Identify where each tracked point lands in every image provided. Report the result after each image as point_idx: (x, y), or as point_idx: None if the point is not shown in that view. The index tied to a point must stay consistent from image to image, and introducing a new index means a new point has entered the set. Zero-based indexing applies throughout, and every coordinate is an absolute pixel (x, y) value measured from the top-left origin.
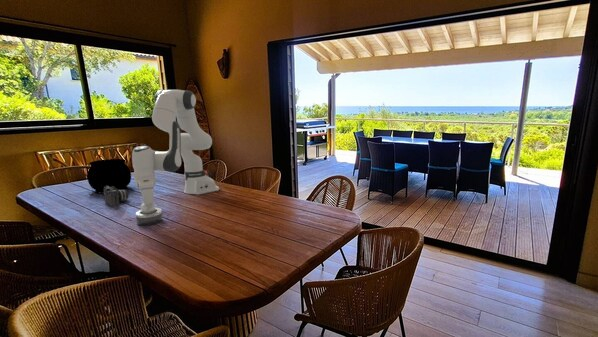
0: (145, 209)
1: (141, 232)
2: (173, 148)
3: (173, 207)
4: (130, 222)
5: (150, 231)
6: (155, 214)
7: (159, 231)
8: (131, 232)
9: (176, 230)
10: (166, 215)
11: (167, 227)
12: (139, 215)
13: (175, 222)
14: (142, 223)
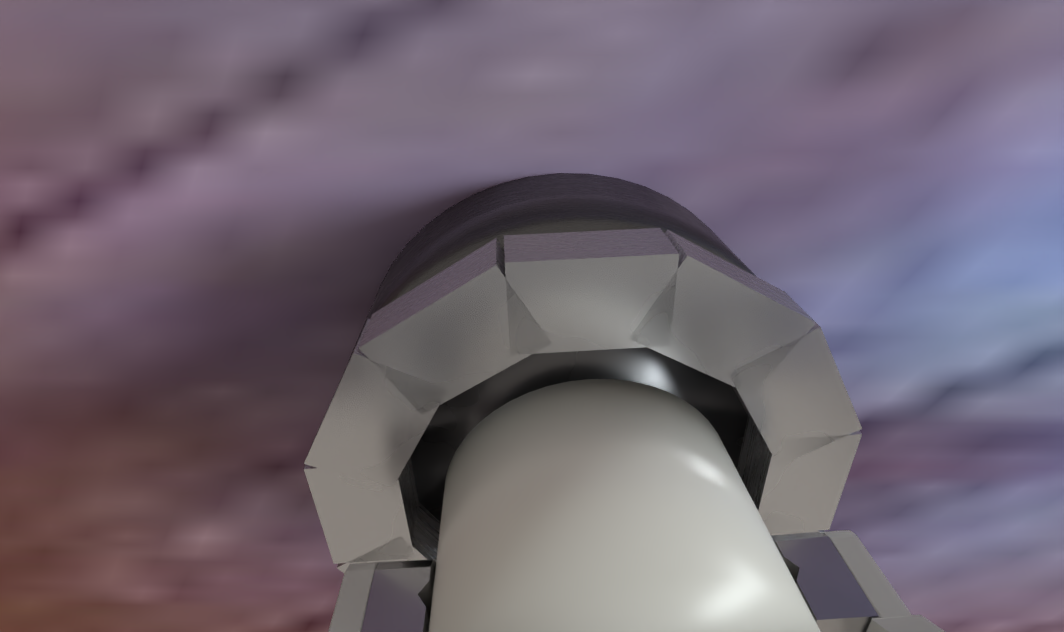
0: (448, 549)
1: (60, 243)
2: None
3: (950, 599)
4: (728, 48)
5: (82, 363)
6: None
7: (58, 460)
8: (94, 71)
9: (60, 602)
10: None
11: (197, 535)
12: (363, 343)
13: None
14: (384, 285)
